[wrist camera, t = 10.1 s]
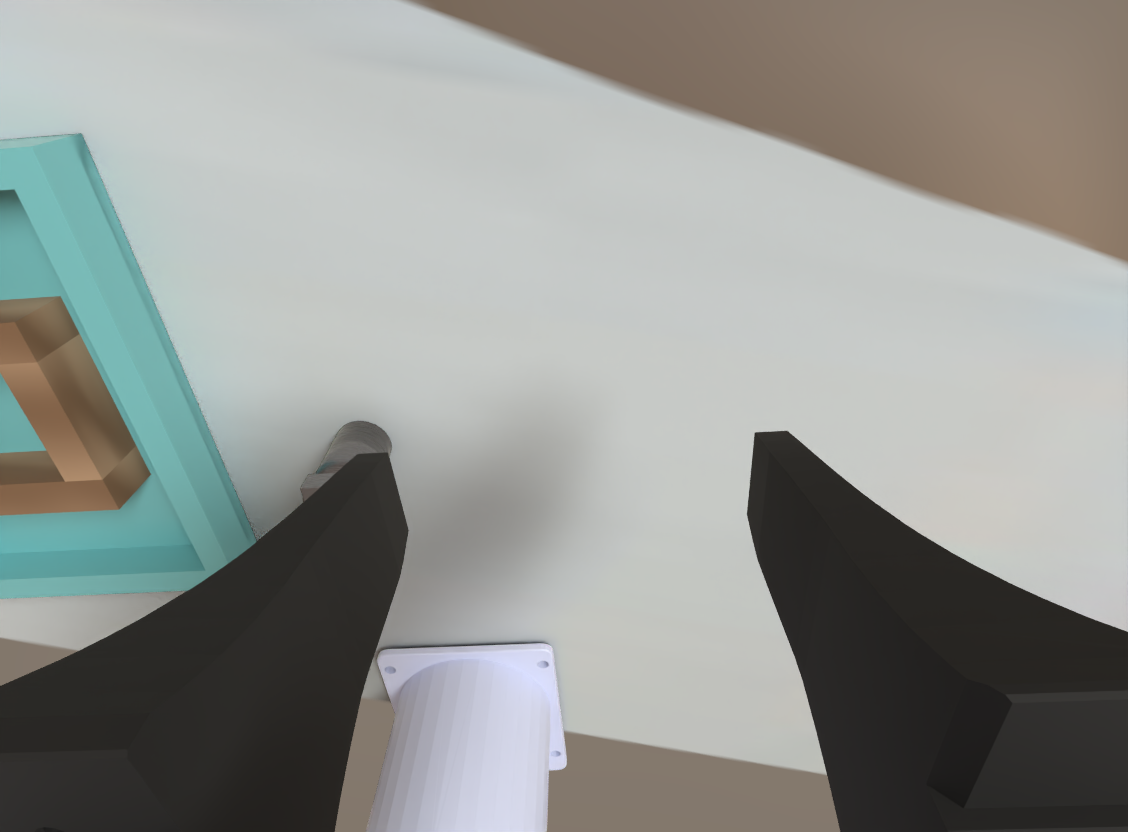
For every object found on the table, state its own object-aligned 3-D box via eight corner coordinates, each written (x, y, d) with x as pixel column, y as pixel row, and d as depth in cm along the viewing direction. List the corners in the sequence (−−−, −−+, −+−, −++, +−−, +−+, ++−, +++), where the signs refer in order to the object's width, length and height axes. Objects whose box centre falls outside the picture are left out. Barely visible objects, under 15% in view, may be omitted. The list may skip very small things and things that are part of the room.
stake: (398, 471, 25) (368, 549, 21) (346, 473, 25) (308, 552, 21) (383, 412, 23) (348, 486, 20) (328, 415, 23) (283, 489, 20)
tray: (261, 551, 27) (240, 588, 25) (-18, 564, 28) (-56, 601, 26) (81, 133, 19) (31, 146, 17) (-315, 165, 19) (-401, 180, 17)
